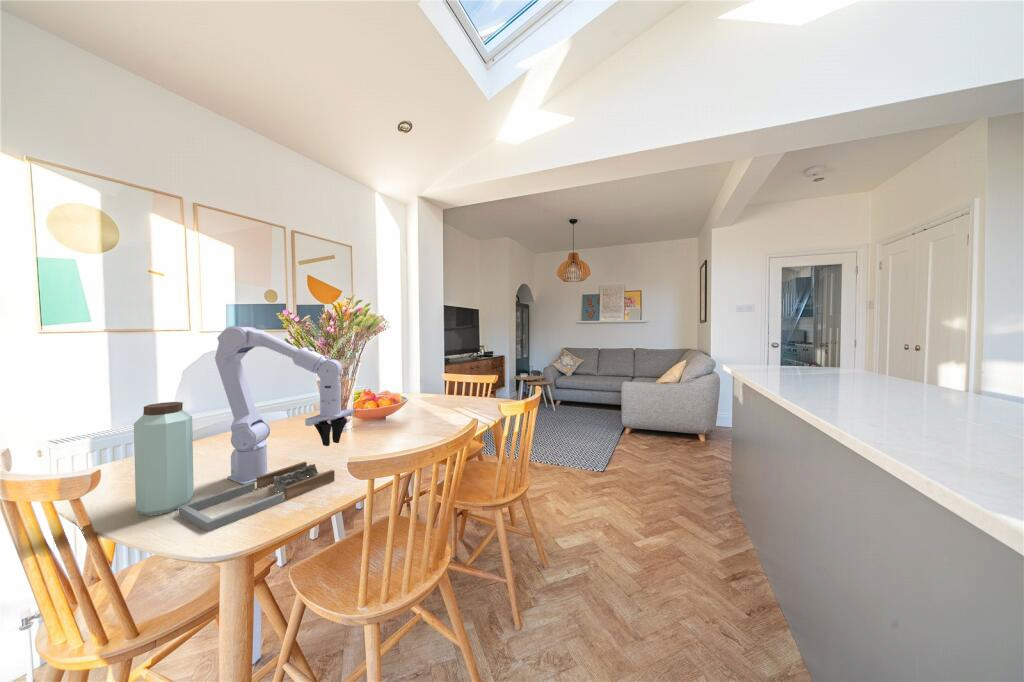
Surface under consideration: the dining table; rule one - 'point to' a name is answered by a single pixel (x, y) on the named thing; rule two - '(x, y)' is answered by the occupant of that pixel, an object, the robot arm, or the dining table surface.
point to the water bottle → (163, 458)
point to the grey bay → (209, 524)
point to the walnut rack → (299, 486)
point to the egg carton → (294, 477)
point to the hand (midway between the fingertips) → (331, 444)
